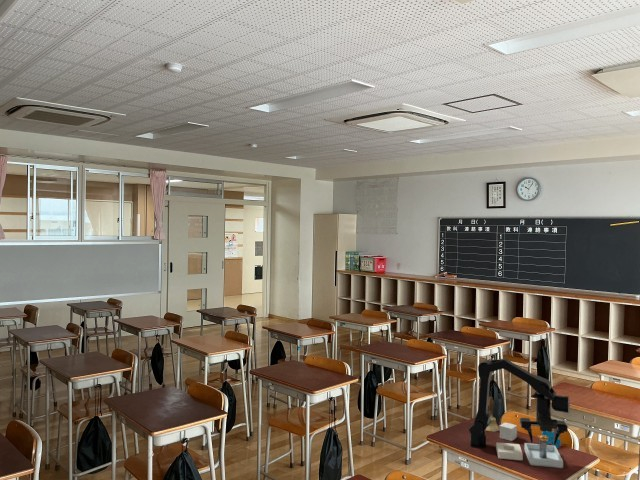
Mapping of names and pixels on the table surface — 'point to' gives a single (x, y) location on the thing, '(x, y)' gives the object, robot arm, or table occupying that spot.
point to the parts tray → (534, 459)
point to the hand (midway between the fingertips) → (543, 443)
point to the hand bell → (492, 418)
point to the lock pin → (543, 446)
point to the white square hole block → (509, 451)
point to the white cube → (508, 431)
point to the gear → (552, 438)
